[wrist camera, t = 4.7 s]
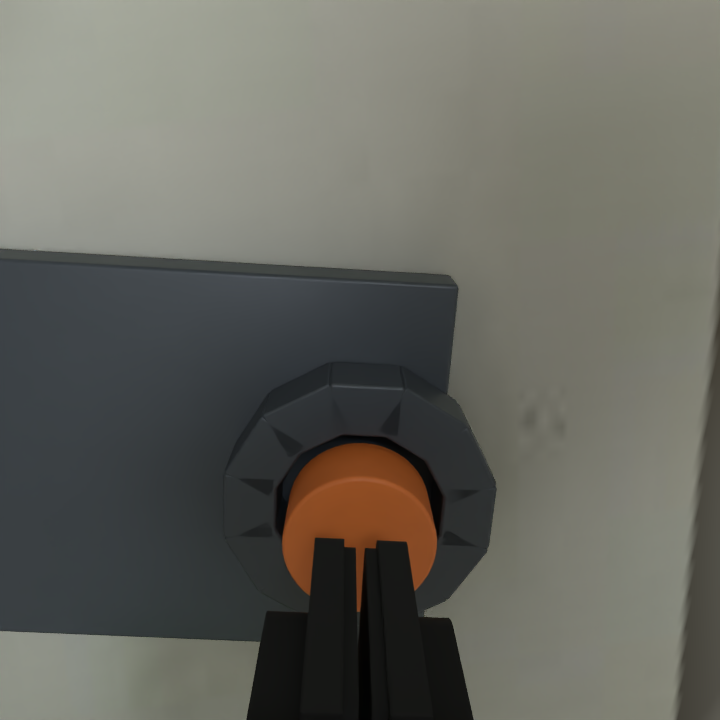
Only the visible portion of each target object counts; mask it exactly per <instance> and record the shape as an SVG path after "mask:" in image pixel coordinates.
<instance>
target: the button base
mask: <svg viewBox="0 0 720 720" xmlns="http://www.w3.org/2000/svg"><path fill="white" fill-rule="evenodd" d="M457 298H458V286H457V284H456V283H455V282H454V281H453V279H452V278H451V277H450V276H448V275H439V274H422V273H404V272H387V271H370V270H353V269H336V268H319V267H302V266H284V265H267V264H250V263H233V262H216V261H199V260H182V259H164V258H147V257H130V256H113V255H96V254H79V253H62V252H44V251H27V250H10V249H0V631H14V632H38V633H63V634H87V635H111V636H135V637H159V638H184V639H208V640H232V641H256V642H261V637H262V631H263V626H264V620H265V615H266V612H267V611H284V612H308V611H309V599H310V596H309V595H308V594H307V593H305V592H304V591H303V590H302V589H301V588H300V587H299V586H298V585H297V583H296V582H295V580H294V579H293V578H292V576H291V574H290V572H289V571H288V569H287V566H286V563H285V561H284V557H283V551H282V537H283V530H284V524H285V518H286V513H287V507H288V502H289V496H290V492H291V488H292V486H293V483H294V481H295V479H296V477H297V476H298V474H299V472H300V471H301V470H302V469H303V467H304V466H305V465H306V464H307V463H308V462H309V461H310V460H312V459H313V458H314V457H316V456H317V455H319V454H320V453H322V452H324V451H326V450H328V449H331V448H333V447H336V446H340V445H344V444H351V443H368V444H374V445H379V446H382V447H385V448H388V449H390V450H392V451H394V452H396V453H398V454H400V455H401V456H402V457H404V458H405V459H406V460H408V461H409V462H410V463H411V464H412V465H413V466H414V468H415V469H416V470H417V471H418V473H419V474H420V476H421V477H422V479H423V482H424V484H425V486H426V490H427V493H428V498H429V502H430V507H431V511H432V516H433V520H434V524H435V529H436V535H437V550H436V556H435V560H434V563H433V566H432V568H431V570H430V572H429V574H428V575H427V577H426V578H425V580H424V581H423V583H422V584H421V585H420V586H419V587H418V588H417V589H416V590H415V597H416V604H417V611H418V617H424V610H426V609H428V608H431V607H433V606H435V605H438V604H440V603H442V602H445V601H446V599H449V598H450V596H451V595H452V594H453V593H454V592H455V590H456V589H457V588H458V587H459V585H460V584H461V583H462V582H463V581H464V579H465V578H466V577H467V576H468V574H469V573H470V572H471V571H472V570H473V568H474V567H475V566H476V565H477V563H478V562H479V561H480V560H481V559H482V557H483V556H484V555H485V554H486V552H487V548H488V546H489V541H490V534H491V526H492V519H493V512H494V504H495V497H496V486H495V485H496V482H495V480H494V477H493V475H492V473H491V470H490V468H489V466H488V464H487V461H486V459H485V457H484V454H483V452H482V450H481V448H480V446H479V444H478V442H477V440H476V438H475V436H474V434H473V432H472V430H471V428H470V426H469V424H468V422H467V420H466V418H465V415H464V413H463V411H462V409H461V407H460V405H459V404H458V403H457V401H456V400H455V399H453V398H452V397H450V396H449V395H447V393H448V384H449V374H450V365H451V355H452V346H453V336H454V327H455V317H456V308H457ZM359 621H360V612H357V634H359Z"/></svg>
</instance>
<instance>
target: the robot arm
mask: <svg viewBox="0 0 720 720" xmlns="http://www.w3.org/2000/svg"><path fill="white" fill-rule="evenodd" d="M247 720H474V719H473V715H472V710H471V706H470V701H469V697H468V692H467V688H466V683H465V679H464V674H463V670H462V665H461V661H460V656H459V652H458V647H457V643H456V638H455V634H454V629H453V625H452V622H451V620H450V619H449V618H432V617H418V611H417V604H416V597H415V591H414V584H413V578H412V571H411V565H410V558H409V551H408V545H407V542H405V541H383V540H377V542H376V548H365V552H364V565H363V579H362V593H361V607H360V621H359V634H357V582H356V547H344V539H337V538H315V542H314V554H313V565H312V577H311V588H310V599H309V611H308V612H284V611H267V612H266V615H265V620H264V626H263V631H262V637H261V642H260V648H259V653H258V659H257V664H256V670H255V675H254V681H253V686H252V692H251V698H250V703H249V709H248V714H247Z"/></svg>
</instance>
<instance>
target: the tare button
mask: <svg viewBox="0 0 720 720" xmlns="http://www.w3.org/2000/svg"><path fill="white" fill-rule="evenodd" d="M315 538H337V539H344V547H356V582H357V612H360V607H361V593H362V579H363V565H364V552H365V548H376V542H377V540H383V541H405V542H407V545H408V551H409V558H410V565H411V571H412V578H413V584H414V591H415V590H416V589H417V588H418V587H419V586H420V585H421V584H422V583H423V581H424V580H425V578H426V577H427V575H428V574H429V572H430V570H431V568H432V566H433V563H434V560H435V556H436V550H437V535H436V529H435V524H434V520H433V516H432V511H431V507H430V502H429V498H428V493H427V490H426V486H425V484H424V482H423V479H422V477H421V476H420V474H419V473H418V471H417V470H416V469H415V468H414V466H413V465H412V464H411V463H410V462H409V461H408V460H406V459H405V458H404V457H402V456H401V455H400V454H398V453H396V452H394V451H392V450H390V449H388V448H385V447H382V446H379V445H374V444H368V443H351V444H344V445H340V446H336V447H333V448H331V449H328V450H326V451H324V452H322V453H320V454H319V455H317V456H316V457H314V458H313V459H312V460H310V461H309V462H308V463H307V464H306V465H305V466H304V467H303V469H302V470H301V471H300V472H299V474H298V476H297V477H296V479H295V481H294V483H293V486H292V488H291V492H290V496H289V502H288V507H287V513H286V518H285V524H284V530H283V537H282V551H283V557H284V561H285V563H286V566H287V569H288V571H289V572H290V574H291V576H292V578H293V579H294V580H295V582H296V583H297V585H298V586H299V587H300V588H301V589H302V590H303V591H304V592H305V593H307V594H308V595H309V596H310V588H311V577H312V565H313V554H314V542H315Z"/></svg>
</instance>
